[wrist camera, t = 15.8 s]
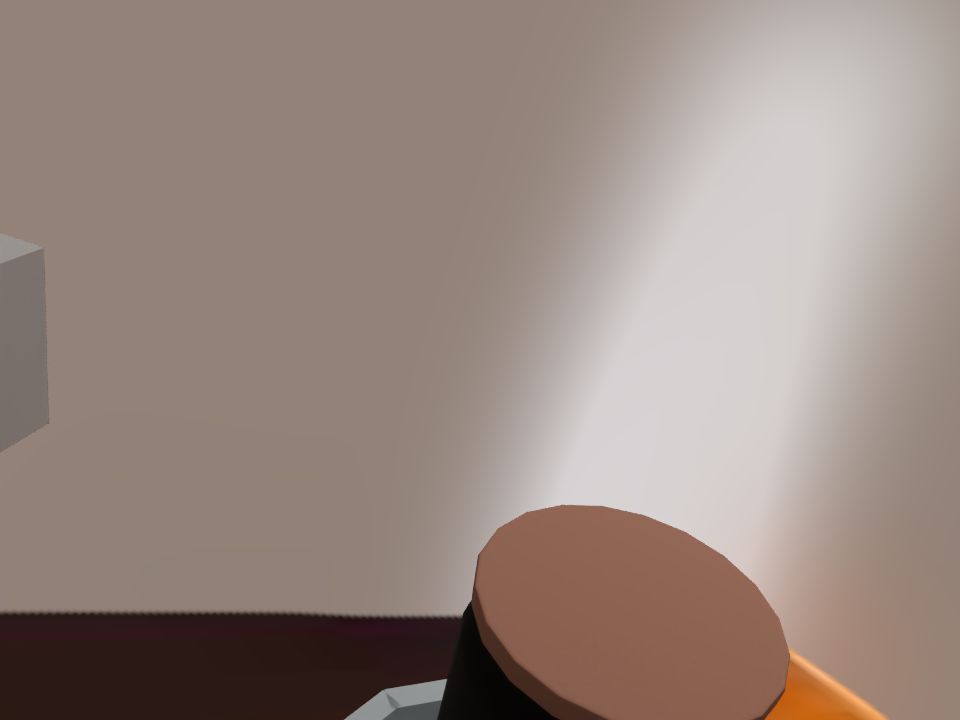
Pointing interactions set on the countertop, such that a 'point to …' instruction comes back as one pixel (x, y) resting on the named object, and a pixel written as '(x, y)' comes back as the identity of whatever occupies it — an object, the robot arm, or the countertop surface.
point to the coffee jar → (611, 626)
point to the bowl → (404, 703)
